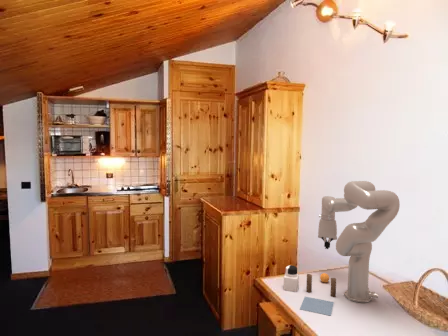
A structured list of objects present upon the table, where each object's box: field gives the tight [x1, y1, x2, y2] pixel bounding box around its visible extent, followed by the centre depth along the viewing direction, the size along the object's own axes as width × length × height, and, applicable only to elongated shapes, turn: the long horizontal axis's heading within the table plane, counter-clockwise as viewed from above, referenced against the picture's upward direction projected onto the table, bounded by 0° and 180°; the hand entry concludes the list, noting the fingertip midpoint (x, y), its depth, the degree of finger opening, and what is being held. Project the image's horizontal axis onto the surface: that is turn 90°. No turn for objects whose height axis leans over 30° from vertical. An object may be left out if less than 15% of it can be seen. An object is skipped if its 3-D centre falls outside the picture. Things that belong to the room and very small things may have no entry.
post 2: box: [329, 277, 337, 298], centre depth 164 cm, size 3×3×9 cm
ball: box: [319, 272, 330, 283], centre depth 181 cm, size 5×5×5 cm
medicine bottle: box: [283, 265, 300, 293], centre depth 173 cm, size 7×7×12 cm
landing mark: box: [299, 296, 335, 317], centre depth 154 cm, size 14×14×1 cm
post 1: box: [306, 273, 313, 294], centre depth 169 cm, size 3×3×9 cm
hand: (327, 248), depth 189 cm, fingers closed
